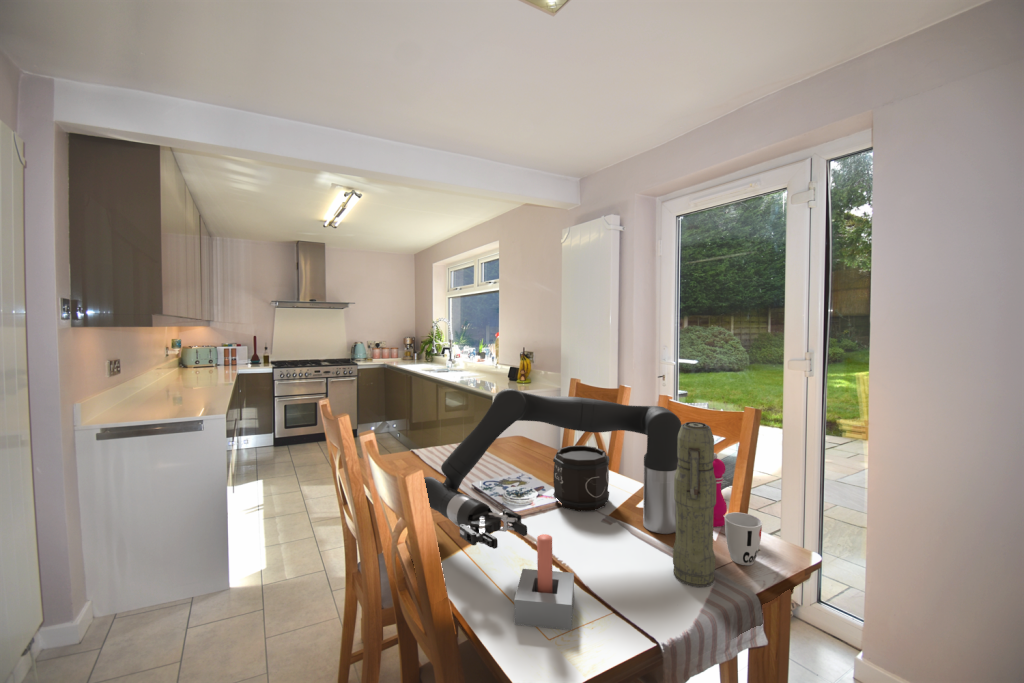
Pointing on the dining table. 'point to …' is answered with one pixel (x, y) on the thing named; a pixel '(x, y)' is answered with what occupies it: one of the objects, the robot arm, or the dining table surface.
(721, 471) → the pepper mill
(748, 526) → the cup
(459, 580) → the dining table surface
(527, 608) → the socket block
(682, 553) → the thermos
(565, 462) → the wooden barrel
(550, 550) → the pin
